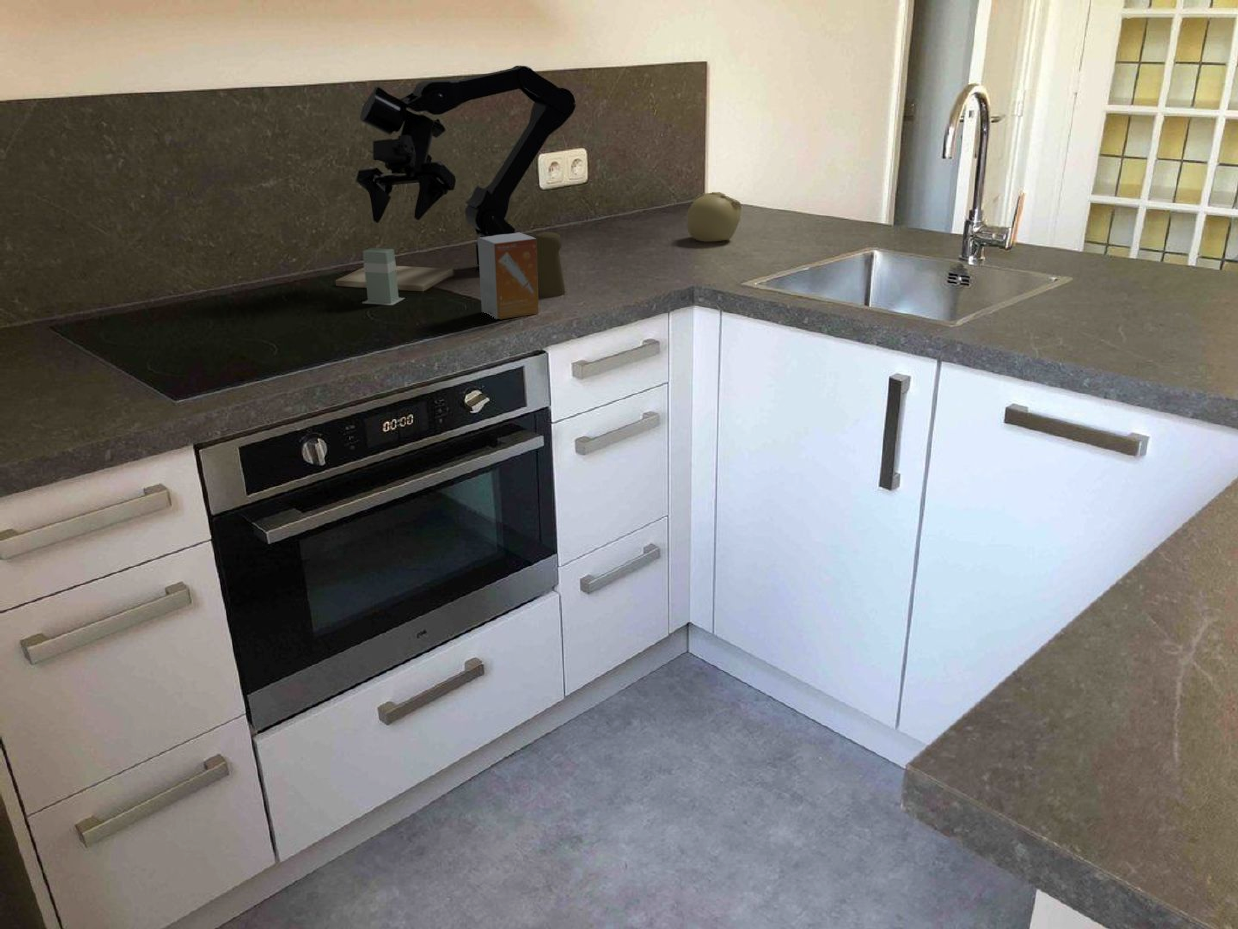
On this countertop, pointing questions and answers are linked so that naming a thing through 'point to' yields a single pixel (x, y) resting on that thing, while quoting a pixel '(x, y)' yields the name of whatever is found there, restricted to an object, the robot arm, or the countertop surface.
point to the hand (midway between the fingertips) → (395, 220)
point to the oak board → (402, 278)
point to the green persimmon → (713, 217)
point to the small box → (508, 275)
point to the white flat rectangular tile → (384, 303)
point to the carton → (380, 275)
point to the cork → (549, 265)
